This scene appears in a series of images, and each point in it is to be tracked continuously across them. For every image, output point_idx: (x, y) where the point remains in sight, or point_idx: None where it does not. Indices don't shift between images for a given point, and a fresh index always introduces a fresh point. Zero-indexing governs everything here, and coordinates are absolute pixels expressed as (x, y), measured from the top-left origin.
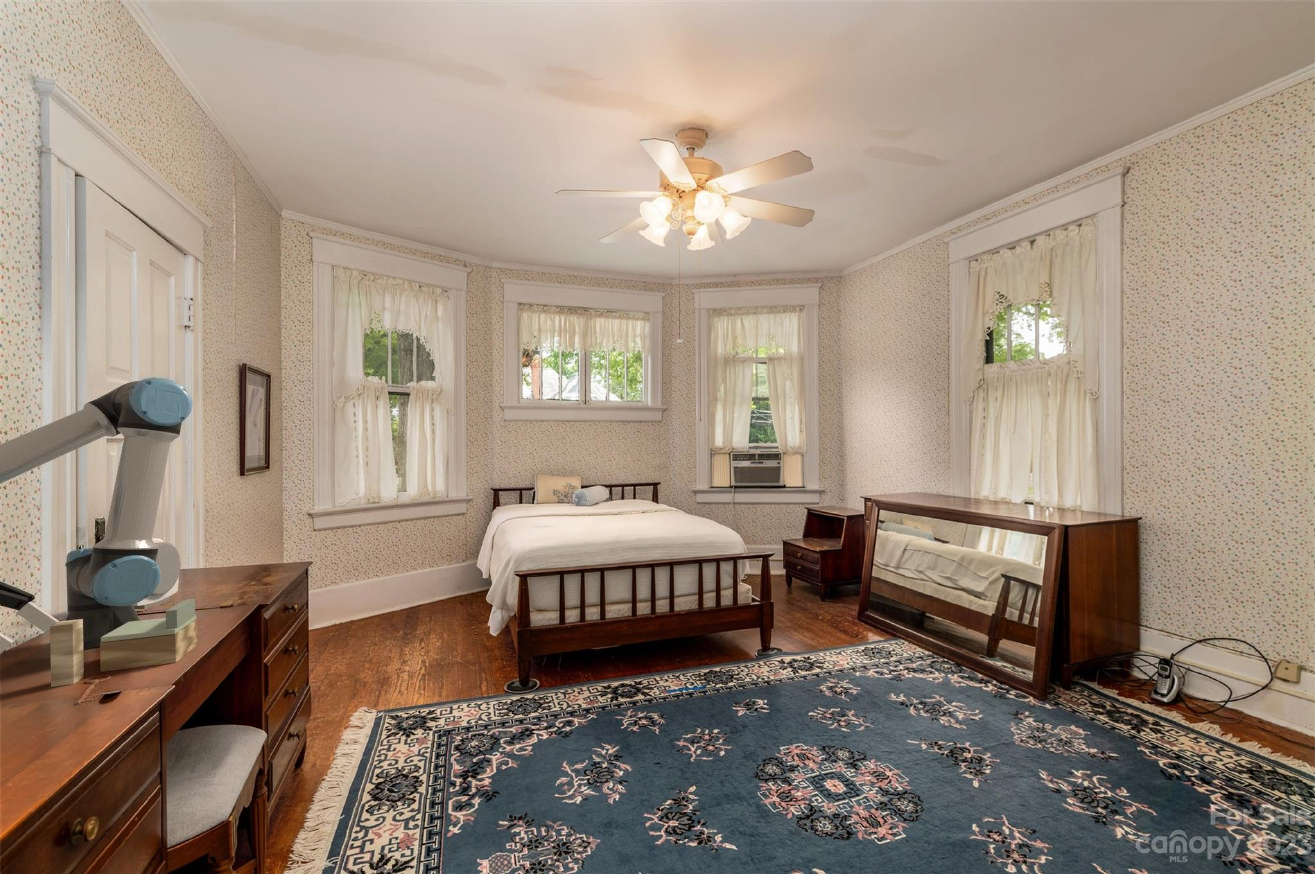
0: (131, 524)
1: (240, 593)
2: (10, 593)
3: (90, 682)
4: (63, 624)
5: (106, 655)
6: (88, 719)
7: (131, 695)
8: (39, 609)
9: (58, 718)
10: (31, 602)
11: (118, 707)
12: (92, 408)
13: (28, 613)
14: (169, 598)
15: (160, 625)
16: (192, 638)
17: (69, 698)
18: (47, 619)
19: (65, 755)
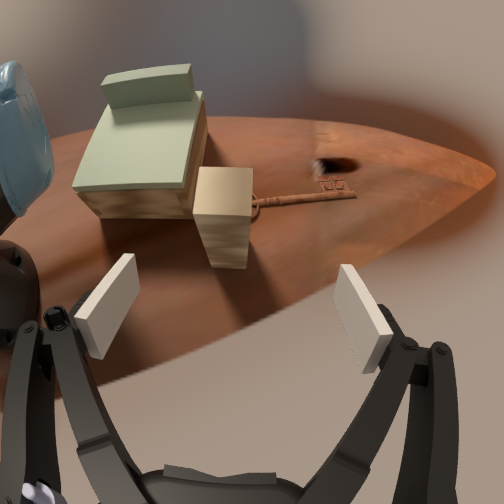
0: None
1: None
2: (63, 379)
3: (258, 209)
4: (245, 188)
5: (191, 195)
6: (400, 168)
7: (339, 145)
8: (101, 290)
9: (393, 198)
10: (76, 314)
11: (374, 150)
12: None
13: (107, 323)
14: None
15: (151, 117)
16: None
17: (324, 213)
18: (125, 274)
19: (456, 167)
